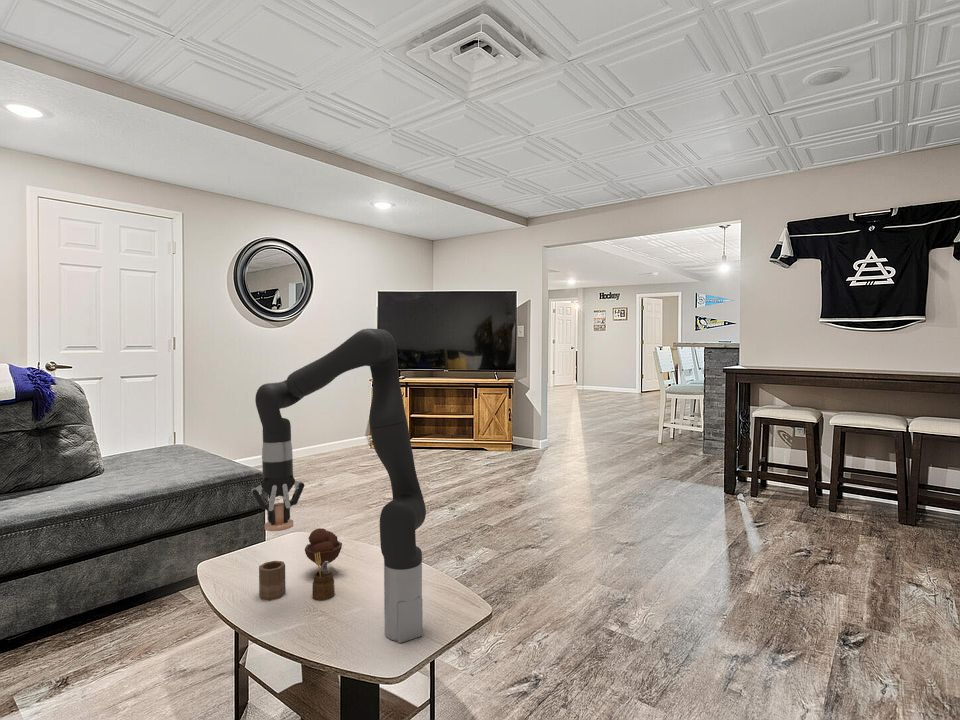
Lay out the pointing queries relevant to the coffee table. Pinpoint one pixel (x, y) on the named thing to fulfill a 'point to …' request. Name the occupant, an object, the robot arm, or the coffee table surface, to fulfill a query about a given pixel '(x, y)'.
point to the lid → (279, 519)
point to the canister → (272, 580)
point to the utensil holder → (323, 583)
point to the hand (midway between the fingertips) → (279, 522)
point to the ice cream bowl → (323, 546)
